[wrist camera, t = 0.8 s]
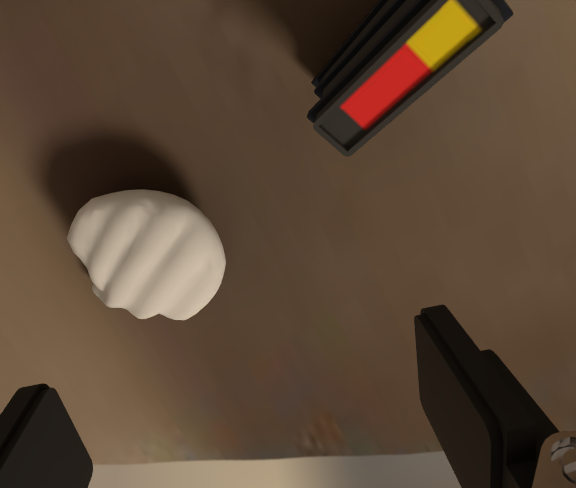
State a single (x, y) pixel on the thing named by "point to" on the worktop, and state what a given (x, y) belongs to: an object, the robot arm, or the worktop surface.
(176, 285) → the shell shaped sculpture
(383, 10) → the magazine
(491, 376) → the robot arm
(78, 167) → the worktop surface
